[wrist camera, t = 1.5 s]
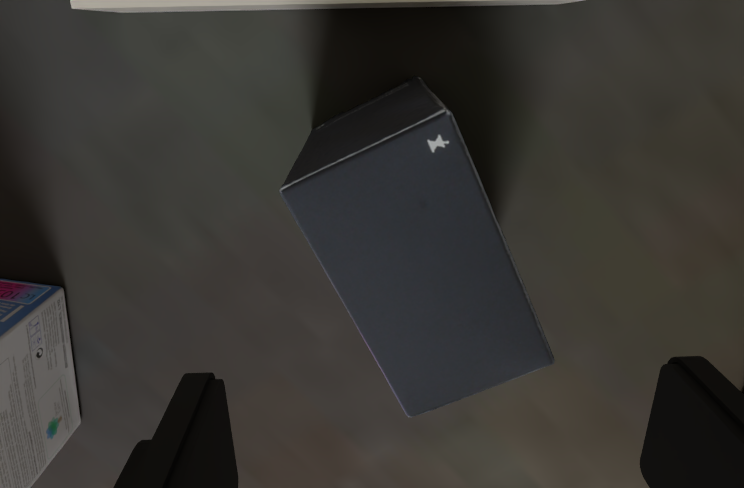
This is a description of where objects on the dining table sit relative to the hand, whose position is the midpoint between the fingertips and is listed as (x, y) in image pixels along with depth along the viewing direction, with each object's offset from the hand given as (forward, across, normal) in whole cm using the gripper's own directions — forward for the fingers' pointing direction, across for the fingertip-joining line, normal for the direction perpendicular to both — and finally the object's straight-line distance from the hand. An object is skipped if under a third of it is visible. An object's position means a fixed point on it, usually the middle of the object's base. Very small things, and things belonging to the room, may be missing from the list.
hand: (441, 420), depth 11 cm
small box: (+18, -1, 0) cm, 18 cm away
